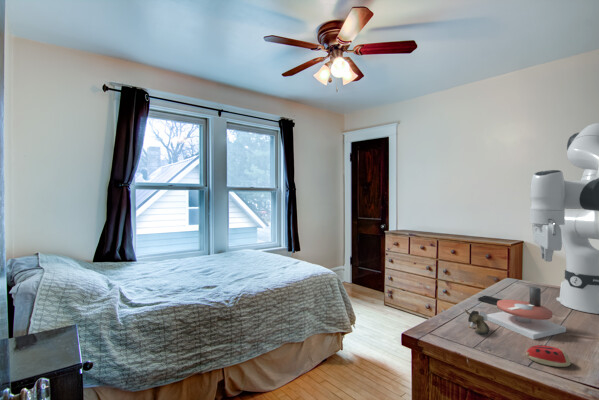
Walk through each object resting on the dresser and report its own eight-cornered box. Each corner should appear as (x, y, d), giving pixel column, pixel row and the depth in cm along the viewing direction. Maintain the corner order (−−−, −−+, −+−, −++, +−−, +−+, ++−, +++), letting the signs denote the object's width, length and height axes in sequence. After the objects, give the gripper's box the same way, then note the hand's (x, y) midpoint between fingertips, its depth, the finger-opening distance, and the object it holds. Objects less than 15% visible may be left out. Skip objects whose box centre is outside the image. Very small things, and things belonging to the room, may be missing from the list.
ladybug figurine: (578, 370, 73) (578, 356, 73) (535, 366, 74) (535, 353, 74) (558, 356, 80) (558, 343, 80) (519, 353, 81) (519, 340, 81)
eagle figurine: (457, 318, 102) (462, 323, 93) (470, 302, 101) (475, 306, 93) (479, 334, 98) (485, 341, 90) (491, 317, 98) (499, 323, 90)
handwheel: (532, 323, 89) (532, 299, 89) (486, 306, 103) (487, 285, 103) (563, 316, 94) (563, 294, 94) (515, 301, 108) (515, 281, 108)
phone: (485, 295, 128) (526, 305, 115) (485, 297, 128) (526, 308, 115) (476, 298, 123) (518, 309, 111) (476, 301, 123) (518, 312, 111)
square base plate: (515, 313, 109) (515, 301, 109) (565, 331, 94) (566, 318, 94) (484, 319, 104) (484, 306, 104) (533, 339, 89) (533, 324, 89)
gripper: (569, 221, 85) (568, 267, 85) (551, 217, 103) (551, 256, 103) (541, 220, 88) (541, 265, 88) (529, 216, 106) (528, 254, 106)
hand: (546, 260), depth 96 cm, fingers open, 3 cm apart
